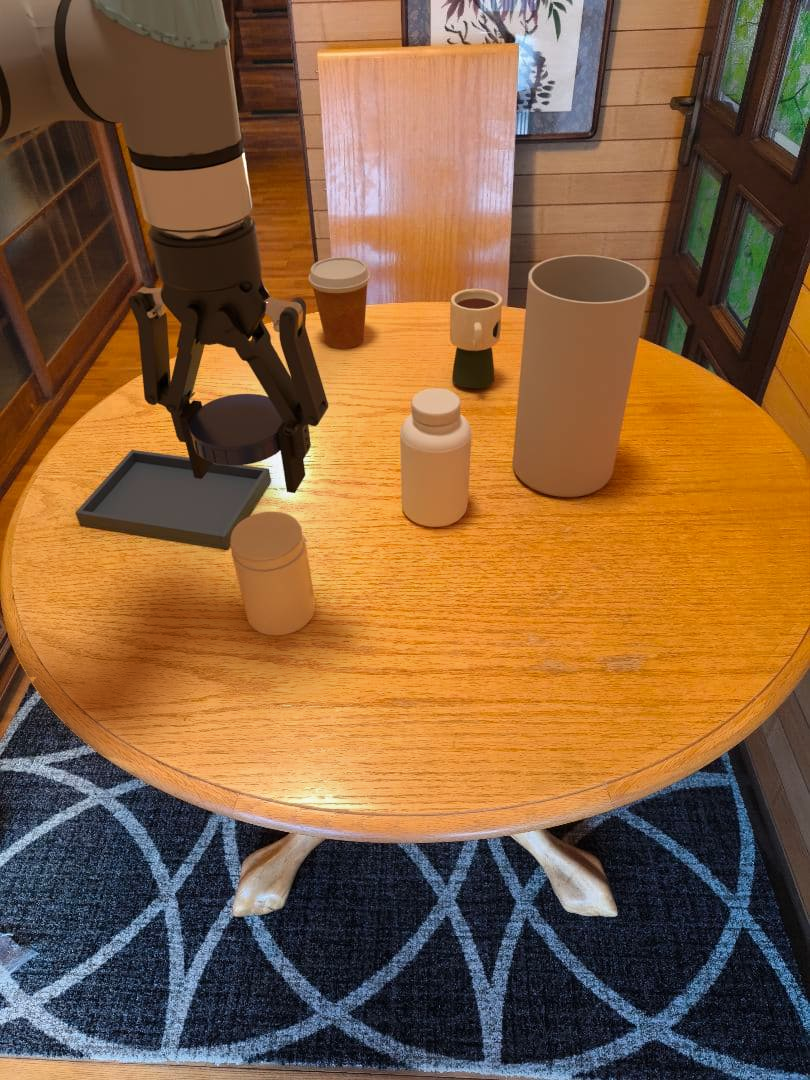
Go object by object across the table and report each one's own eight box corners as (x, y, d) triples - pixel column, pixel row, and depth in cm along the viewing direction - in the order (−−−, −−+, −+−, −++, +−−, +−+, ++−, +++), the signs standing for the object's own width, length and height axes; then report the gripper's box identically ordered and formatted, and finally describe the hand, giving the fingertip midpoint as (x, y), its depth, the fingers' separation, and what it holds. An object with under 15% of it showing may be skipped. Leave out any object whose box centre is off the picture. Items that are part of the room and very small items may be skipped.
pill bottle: (447, 537, 88) (449, 427, 78) (389, 515, 91) (383, 406, 81) (480, 500, 93) (485, 392, 83) (423, 480, 96) (422, 374, 86)
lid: (304, 418, 68) (302, 399, 67) (268, 472, 62) (265, 453, 61) (218, 406, 70) (214, 388, 69) (175, 458, 64) (170, 439, 63)
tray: (79, 525, 91) (74, 512, 90) (135, 461, 101) (131, 449, 99) (227, 549, 87) (224, 536, 86) (271, 481, 97) (269, 468, 95)
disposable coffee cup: (325, 358, 120) (317, 284, 112) (308, 332, 127) (300, 261, 119) (382, 346, 123) (378, 273, 115) (362, 322, 129) (358, 251, 121)
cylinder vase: (566, 431, 103) (591, 246, 87) (633, 477, 95) (675, 283, 79) (492, 461, 98) (504, 272, 82) (556, 513, 90) (584, 314, 74)
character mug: (500, 401, 109) (506, 315, 101) (450, 402, 110) (452, 317, 101) (493, 363, 118) (498, 281, 109) (447, 364, 118) (449, 282, 109)
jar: (235, 629, 78) (215, 552, 71) (262, 580, 83) (246, 505, 76) (301, 641, 77) (288, 564, 70) (324, 591, 82) (314, 515, 75)
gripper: (358, 211, 54) (373, 468, 70) (97, 192, 59) (164, 438, 74) (324, 251, 49) (348, 520, 64) (39, 227, 53) (124, 484, 68)
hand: (249, 476), depth 69 cm, fingers closed on lid, 8 cm apart
